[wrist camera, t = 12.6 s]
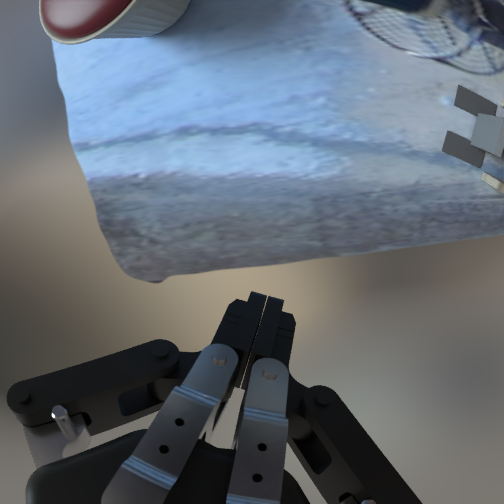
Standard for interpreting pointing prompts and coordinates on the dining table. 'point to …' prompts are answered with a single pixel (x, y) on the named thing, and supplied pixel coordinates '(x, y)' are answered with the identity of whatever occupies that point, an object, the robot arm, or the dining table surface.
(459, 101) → the pit pad
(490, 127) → the grey elongated piece
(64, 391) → the robot arm
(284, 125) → the dining table surface
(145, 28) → the canister
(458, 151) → the plate
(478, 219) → the dining table surface
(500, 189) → the tunnel
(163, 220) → the dining table surface
